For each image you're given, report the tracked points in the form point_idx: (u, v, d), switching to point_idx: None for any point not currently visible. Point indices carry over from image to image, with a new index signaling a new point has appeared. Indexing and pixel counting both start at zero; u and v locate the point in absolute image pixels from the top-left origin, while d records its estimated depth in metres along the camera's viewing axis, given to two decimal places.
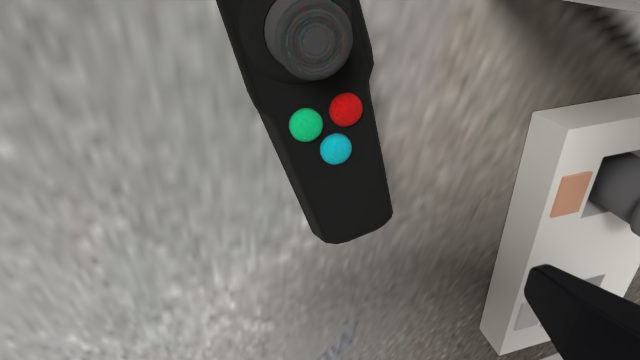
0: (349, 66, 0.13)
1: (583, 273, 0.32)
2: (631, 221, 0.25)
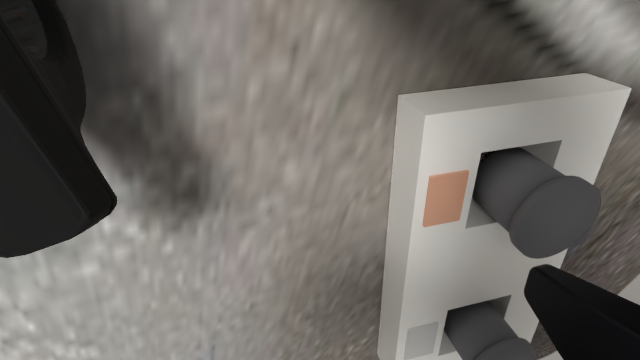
0: None
1: (482, 294, 0.27)
2: (510, 234, 0.20)
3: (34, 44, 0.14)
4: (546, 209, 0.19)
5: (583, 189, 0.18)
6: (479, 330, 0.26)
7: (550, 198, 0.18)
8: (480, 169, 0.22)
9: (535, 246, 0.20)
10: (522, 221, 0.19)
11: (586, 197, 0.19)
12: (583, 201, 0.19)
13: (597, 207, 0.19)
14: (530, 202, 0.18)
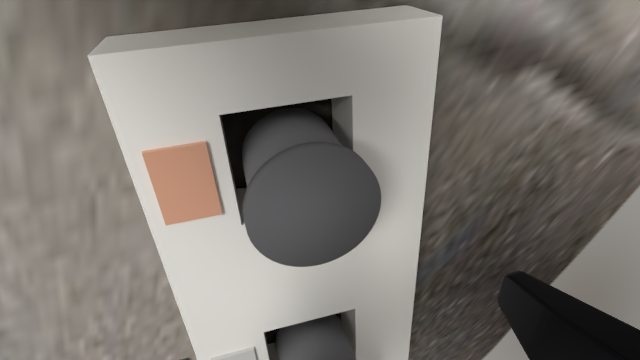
0: None
1: (309, 310, 0.20)
2: None
3: None
4: (280, 194, 0.12)
5: (335, 162, 0.12)
6: (300, 359, 0.20)
7: (278, 176, 0.12)
8: (245, 141, 0.16)
9: (291, 249, 0.13)
10: (245, 213, 0.12)
11: (347, 174, 0.12)
12: (345, 180, 0.13)
13: (375, 189, 0.13)
14: (252, 184, 0.12)
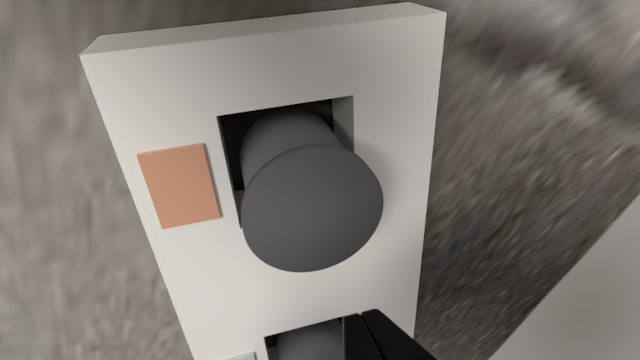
0: None
1: (310, 314, 0.20)
2: None
3: None
4: (279, 198, 0.12)
5: (336, 164, 0.12)
6: None
7: (276, 179, 0.11)
8: (243, 143, 0.15)
9: (290, 255, 0.13)
10: (242, 218, 0.12)
11: (348, 177, 0.12)
12: (346, 183, 0.12)
13: (377, 192, 0.13)
14: (250, 187, 0.12)
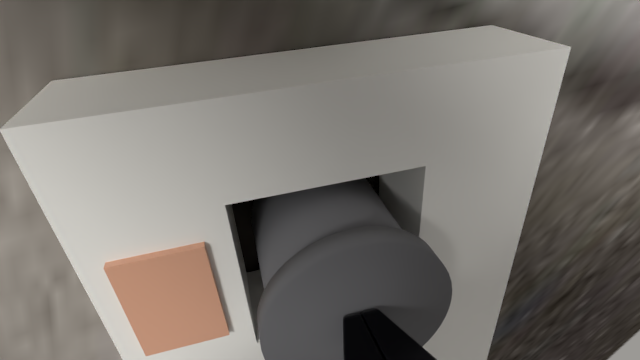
0: None
1: None
2: None
3: None
4: (313, 304, 0.08)
5: (394, 258, 0.08)
6: None
7: (311, 282, 0.08)
8: (256, 202, 0.12)
9: None
10: (261, 332, 0.08)
11: (409, 272, 0.09)
12: (405, 280, 0.09)
13: (445, 287, 0.09)
14: (272, 291, 0.08)
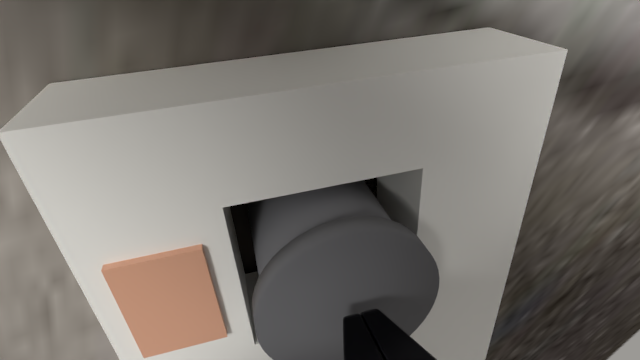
0: None
1: None
2: None
3: None
4: (305, 291, 0.09)
5: (382, 246, 0.09)
6: None
7: (303, 269, 0.08)
8: None
9: (316, 354, 0.10)
10: (255, 317, 0.09)
11: (397, 260, 0.09)
12: (393, 268, 0.09)
13: (432, 275, 0.10)
14: (266, 278, 0.09)
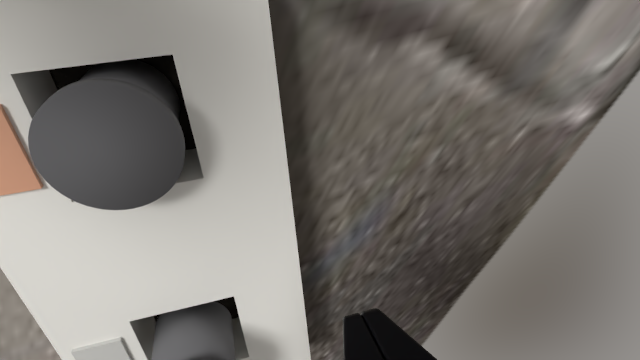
0: None
1: (178, 297, 0.19)
2: None
3: None
4: (64, 129, 0.12)
5: (116, 97, 0.12)
6: (164, 350, 0.18)
7: (55, 110, 0.12)
8: None
9: (94, 190, 0.13)
10: (29, 149, 0.12)
11: (135, 111, 0.13)
12: (134, 118, 0.13)
13: (172, 129, 0.13)
14: None
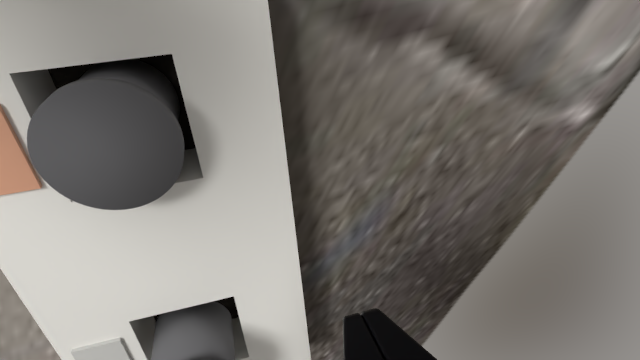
0: None
1: (178, 297, 0.19)
2: None
3: None
4: (63, 129, 0.12)
5: (115, 97, 0.12)
6: (164, 350, 0.18)
7: (54, 109, 0.12)
8: None
9: (93, 190, 0.13)
10: (28, 149, 0.12)
11: (134, 111, 0.12)
12: (133, 117, 0.13)
13: (171, 128, 0.13)
14: None
